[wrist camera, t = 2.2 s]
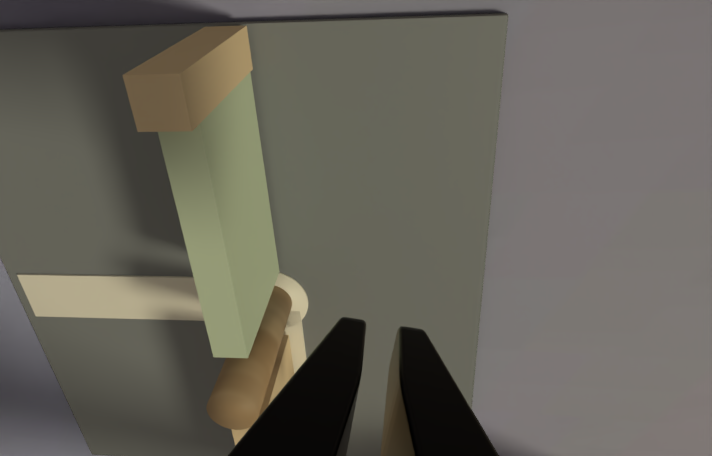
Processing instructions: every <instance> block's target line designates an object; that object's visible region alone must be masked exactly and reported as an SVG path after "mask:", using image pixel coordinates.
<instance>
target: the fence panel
mask: <svg viewBox="0 0 712 456" xmlns="http://www.w3.org/2000/svg"><path fill="white" fill-rule="evenodd" d="M252 70H253V66H252V59H251V52H250V46H249V39H248V32H247V25H245V26H214V27H204V28H202V29H200V30H198V31H197V32H195V33H193V34H192V35H190V36H188V37H186V38H185V39H183V40H181V41H180V42H178V43H176V44H174V45H173V46H171V47H169V48H168V49H166V50H164V51H163V52H161V53H159V54H157V55H156V56H154V57H152V58H151V59H149V60H147V61H145V62H144V63H142V64H140V65H139V66H137V67H135V68H134V69H132V70H130V71H128V72H127V73H125V74H123V79H124V83H125V87H126V90H127V94H128V98H129V102H130V105H131V109H132V113H133V116H134V120H135V124H136V128H137V131H138V132H158V135H159V140H160V144H161V148H162V152H163V156H164V160H165V164H166V168H167V172H168V176H169V180H170V184H171V188H172V192H173V196H174V200H175V204H176V208H177V212H178V216H179V220H180V224H181V228H182V232H183V236H184V240H185V244H186V248H187V252H188V257H189V261H190V265H191V269H192V273H193V277H194V281H195V285H196V289H197V293H198V297H199V301H200V305H201V309H202V313H203V317H204V321H205V325H206V329H207V333H208V337H209V341H210V345H211V349H212V353H213V357H221V358H248V357H249V354H250V351H251V349H252V346H253V343H254V340H255V338H256V335H257V332H258V329H259V327H260V324H261V321H262V318H263V316H264V313H265V310H266V307H267V305H268V302H269V299H270V296H271V294H272V291H273V288H274V285H275V283H276V280H277V277H278V274H279V265H278V258H277V251H276V244H275V237H274V231H273V224H272V217H271V210H270V203H269V196H268V189H267V183H266V176H265V169H264V162H263V155H262V148H261V141H260V134H259V128H258V121H257V114H256V107H255V100H254V93H253V86H252V80H251V73H250V72H251V71H252Z"/></svg>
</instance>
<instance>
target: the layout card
mask: <svg viewBox="0 0 712 456" xmlns="http://www.w3.org/2000/svg"><path fill="white" fill-rule="evenodd" d="M507 24H508V14H507V13H496V14H465V15H434V16H404V17H373V18H342V19H311V20H281V21H250V22H219V23H188V24H158V25H127V26H96V27H66V28H35V29H4V30H0V257H1V260H2V262H3V264H4V266H5V268H6V270H7V272H8V275H9V277H10V279H11V281H12V283H13V285H14V288H15V290H16V292H17V294H18V296H19V298H20V300H21V303H22V305H23V307H24V309H25V311H26V313H27V315H28V318H29V320H30V322H31V324H32V326H33V328H34V331H35V333H36V335H37V337H38V339H39V341H40V343H41V346H42V348H43V350H44V352H45V354H46V356H47V359H48V361H49V363H50V365H51V367H52V369H53V371H54V374H55V376H56V378H57V380H58V382H59V384H60V387H61V389H62V391H63V393H64V395H65V397H66V399H67V402H68V404H69V406H70V408H71V410H72V412H73V415H74V417H75V419H76V421H77V423H78V425H79V427H80V430H81V432H82V434H83V436H84V438H85V440H86V442H87V445H88V447H89V449H90V451H91V453H92V454H94V455H113V456H227V455H228V454H229V453H230V452H231V450H232V449H233V448H234V447H235V442H234V438H233V434H232V430H231V429H229V428H225V427H223V426H220V425H219V424H217V423H216V422H214V421H213V420H212V419H211V418H210V416H209V415H208V413H207V409H206V406H207V403H208V401H209V398H210V396H211V393H212V391H213V388H214V386H215V384H216V381H217V379H218V376H219V374H220V371H221V369H222V367H223V364H224V362H225V359H226V358H221V357H213V353H212V349H211V345H210V341H209V337H208V333H207V329H206V325H205V321H204V317H203V313H202V309H201V305H200V301H199V297H198V293H197V289H196V285H195V281H194V277H193V273H192V269H191V265H190V261H189V257H188V252H187V248H186V244H185V240H184V236H183V232H182V228H181V224H180V220H179V216H178V212H177V208H176V204H175V200H174V196H173V192H172V188H171V184H170V180H169V176H168V172H167V168H166V164H165V160H164V156H163V152H162V148H161V144H160V140H159V135H158V132H138V131H137V128H136V124H135V120H134V116H133V113H132V109H131V105H130V102H129V98H128V94H127V90H126V87H125V83H124V79H123V74H125V73H127V72H128V71H130V70H132V69H134V68H135V67H137V66H139V65H140V64H142V63H144V62H145V61H147V60H149V59H151V58H152V57H154V56H156V55H157V54H159V53H161V52H163V51H164V50H166V49H168V48H169V47H171V46H173V45H174V44H176V43H178V42H180V41H181V40H183V39H185V38H186V37H188V36H190V35H192V34H193V33H195V32H197V31H198V30H200V29H202V28H204V27H214V26H245V25H247V32H248V39H249V46H250V52H251V59H252V66H253V70H252V71H251V72H250V73H251V80H252V86H253V93H254V100H255V107H256V114H257V121H258V128H259V134H260V141H261V148H262V155H263V162H264V169H265V176H266V183H267V189H268V196H269V203H270V210H271V217H272V224H273V231H274V237H275V244H276V251H277V258H278V265H279V274H278V277H277V280H276V283H275V285H274V286H277V287H280V288H282V289H283V290H285V291H286V292H287V293H288V294H289V295H290V297H291V300H292V307H291V311H290V314H289V317H288V321H287V324H286V327H285V331H284V334H283V335H289V340H290V347H291V354H292V361H293V368H294V374H295V373H296V371H297V370H298V369H299V368H300V366H301V365H302V364H303V363H304V362H305V360H306V359H307V358H308V357H309V355H310V354H311V353H312V352H313V351H314V349H315V348H316V347H317V346H318V345H319V343H320V342H321V341H322V340H323V338H324V337H325V336H326V335H327V334H328V332H329V331H330V330H331V329H332V327H333V326H334V325H335V324H336V323H337V321H338V320H339V319H340V318H342V317H349V318H356V319H362V320H364V321H365V322H366V334H365V345H364V356H363V367H362V374H361V380H360V385H359V391H358V396H357V401H356V406H355V412H354V417H353V422H352V428H351V433H350V438H349V444H348V449H347V454H346V456H381V445H382V434H383V424H384V414H385V403H386V393H387V383H388V373H389V366H390V361H391V357H392V352H393V348H394V343H395V339H396V334H397V331H398V329H399V327H401V326H406V327H412V328H418V329H422V330H424V331H425V332H426V334H427V335H428V337H429V339H430V340H431V342H432V344H433V345H434V347H435V349H436V350H437V352H438V354H439V356H440V357H441V359H442V361H443V362H444V364H445V366H446V367H447V369H448V371H449V372H450V374H451V376H452V377H453V379H454V381H455V383H456V384H457V386H458V388H459V389H460V391H461V393H462V394H463V396H464V398H465V399H466V401H467V403H468V404H469V406H470V408H471V407H472V397H473V386H474V375H475V365H476V354H477V343H478V333H479V322H480V311H481V301H482V290H483V279H484V269H485V258H486V248H487V237H488V226H489V216H490V205H491V194H492V184H493V173H494V162H495V152H496V141H497V130H498V120H499V109H500V98H501V88H502V77H503V66H504V56H505V45H506V34H507Z"/></svg>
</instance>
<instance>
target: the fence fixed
mask: <svg viewBox="0 0 712 456" xmlns="http://www.w3.org/2000/svg"><path fill="white" fill-rule="evenodd" d="M291 307H292V300H291V297H290V295H289V294H288V293H287V292H286V291H285V290H283V289H282V288H280V287H277V286H274V288H273V291H272V294H271V296H270V299H269V302H268V305H267V307H266V310H265V313H264V316H263V318H262V321H261V324H260V327H259V329H258V332H257V335H256V338H255V340H254V343H253V346H252V349H251V351H250V354H249V357H248V358H226V359H225V362H224V364H223V367H222V369H221V371H220V374H219V376H218V379H217V381H216V384H215V386H214V388H213V391H212V393H211V396H210V398H209V401H208V403H207V406H206V409H207V413H208V415H209V416H210V418H211V419H212V420H213V421H214V422H216V423H217V424H219V425H220V426H223V427H225V428H229V429H231V430H232V434H233V438H234V442H235V446H236V444H237V443H238V442H239V441H240V439H241V438H242V437H243V436H244V435H245V433H246V432H247V431H248V430H249V428H250V427H251V426H252V425H253V424H254V422H255V421H256V420H257V419H258V418H259V416H260V415H261V414H262V413H263V411H264V410H265V409H266V408H267V407H268V405H269V404H270V403H271V402H272V400H273V399H274V398H275V397H276V396H277V394H278V393H279V392H280V391H281V390H282V388H283V387H284V386H285V385H286V383H287V382H288V381H289V380H290V379H291V377H292V376H293V375H294V368H293V361H292V354H291V347H290V340H289V335H283V334H284V331H285V327H286V324H287V321H288V317H289V314H290V311H291Z"/></svg>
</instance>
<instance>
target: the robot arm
mask: <svg viewBox="0 0 712 456" xmlns="http://www.w3.org/2000/svg"><path fill="white" fill-rule="evenodd" d="M365 334H366V322H365V321H364V320H362V319H356V318H349V317H342V318H340V319H339V320H338V321H337V323H336V324H335V325H334V326H333V327H332V329H331V330H330V331H329V332H328V334H327V335H326V336H325V337H324V338H323V340H322V341H321V342H320V343H319V345H318V346H317V347H316V348H315V349H314V351H313V352H312V353H311V354H310V355H309V357H308V358H307V359H306V360H305V362H304V363H303V364H302V365H301V366H300V368H299V369H298V370H297V371H296V373H295V374H294V375H293V376H292V377H291V379H290V380H289V381H288V382H287V383H286V385H285V386H284V387H283V388H282V390H281V391H280V392H279V393H278V394H277V396H276V397H275V398H274V399H273V400H272V402H271V403H270V404H269V405H268V407H267V408H266V409H265V410H264V411H263V413H262V414H261V415H260V416H259V418H258V419H257V420H256V421H255V422H254V424H253V425H252V426H251V427H250V428H249V430H248V431H247V432H246V433H245V435H244V436H243V437H242V438H241V439H240V441H239V442H238V443H237V444H236V446H235V447H234V448H233V449H232V450H231V452H230V453H229V454H228V455H227V456H346V454H347V449H348V444H349V438H350V433H351V428H352V422H353V417H354V412H355V406H356V401H357V396H358V391H359V385H360V380H361V374H362V367H363V356H364V345H365ZM381 456H499V455H498V453H497V452H496V450H495V448H494V447H493V445H492V443H491V442H490V440H489V438H488V437H487V435H486V433H485V431H484V430H483V428H482V426H481V425H480V423H479V421H478V420H477V418H476V416H475V415H474V413H473V411H472V410H471V408H470V406H469V404H468V403H467V401H466V399H465V398H464V396H463V394H462V393H461V391H460V389H459V388H458V386H457V384H456V383H455V381H454V379H453V377H452V376H451V374H450V372H449V371H448V369H447V367H446V366H445V364H444V362H443V361H442V359H441V357H440V356H439V354H438V352H437V350H436V349H435V347H434V345H433V344H432V342H431V340H430V339H429V337H428V335H427V334H426V332H425V331H424V330H422V329H418V328H412V327H406V326H401V327H399V329H398V331H397V334H396V339H395V343H394V348H393V352H392V357H391V361H390V366H389V373H388V383H387V393H386V403H385V414H384V424H383V434H382V445H381Z"/></svg>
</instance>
